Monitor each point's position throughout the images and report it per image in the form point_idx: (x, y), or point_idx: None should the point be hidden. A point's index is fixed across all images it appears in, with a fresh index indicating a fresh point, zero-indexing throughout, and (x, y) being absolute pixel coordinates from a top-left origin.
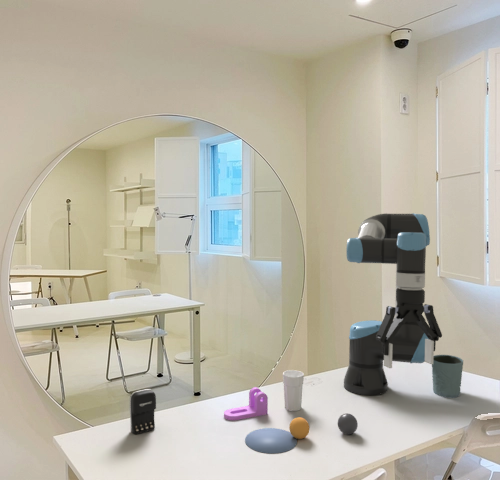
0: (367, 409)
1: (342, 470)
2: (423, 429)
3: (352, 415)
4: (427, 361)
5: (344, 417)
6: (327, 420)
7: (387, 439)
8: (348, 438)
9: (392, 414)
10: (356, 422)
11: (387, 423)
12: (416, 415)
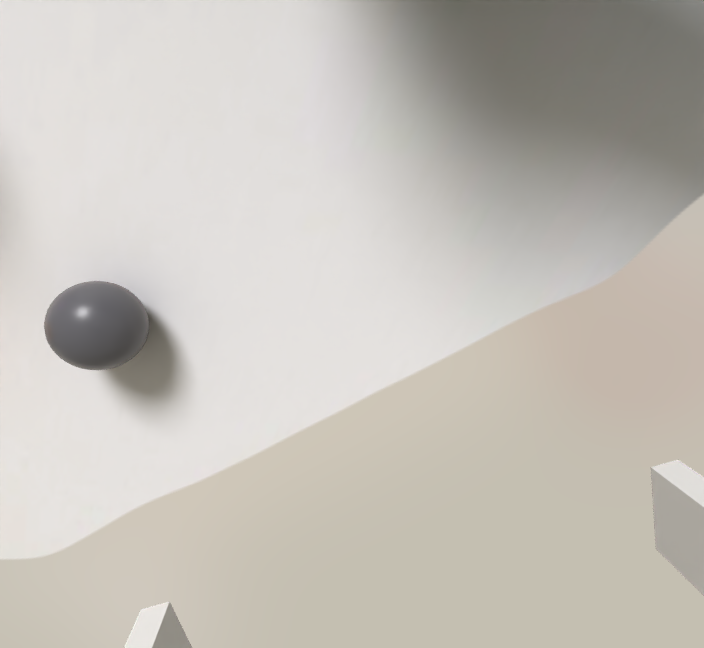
0: (270, 56)
1: (72, 538)
2: (442, 298)
3: (102, 339)
4: (664, 515)
5: (60, 352)
6: (39, 177)
7: (270, 367)
8: None
9: (376, 136)
10: (130, 354)
11: (317, 232)
12: (483, 159)
